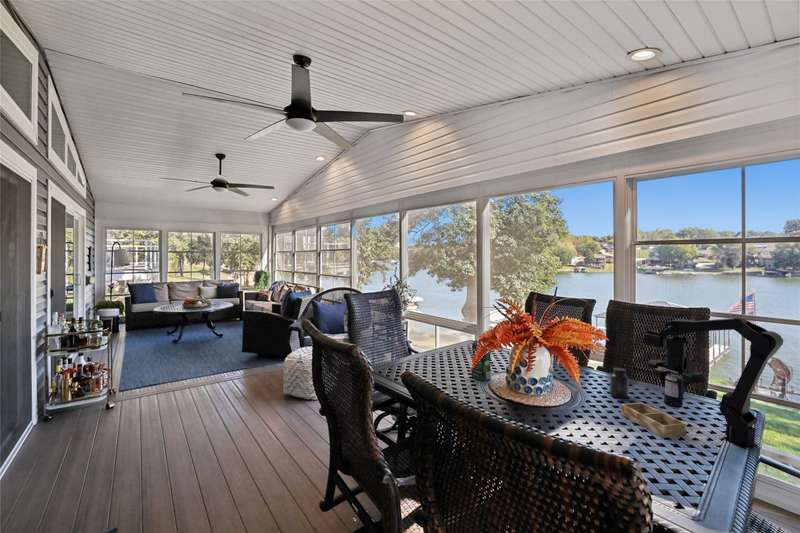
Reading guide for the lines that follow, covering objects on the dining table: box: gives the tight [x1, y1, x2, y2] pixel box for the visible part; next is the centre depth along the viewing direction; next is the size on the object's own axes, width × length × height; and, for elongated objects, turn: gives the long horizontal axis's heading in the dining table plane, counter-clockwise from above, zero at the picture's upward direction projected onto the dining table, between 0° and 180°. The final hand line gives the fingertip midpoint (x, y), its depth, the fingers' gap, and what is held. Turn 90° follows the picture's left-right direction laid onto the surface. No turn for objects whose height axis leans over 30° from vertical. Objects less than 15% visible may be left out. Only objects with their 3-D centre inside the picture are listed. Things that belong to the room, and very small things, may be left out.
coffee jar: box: [470, 339, 492, 381], centre depth 183 cm, size 10×8×19 cm
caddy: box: [620, 401, 687, 439], centre depth 136 cm, size 18×10×4 cm, turn 12°
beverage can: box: [663, 373, 684, 410], centre depth 140 cm, size 6×6×12 cm
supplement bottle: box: [609, 367, 629, 400], centre depth 162 cm, size 7×7×12 cm
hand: (673, 392), depth 140 cm, fingers closed on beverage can, 6 cm apart
